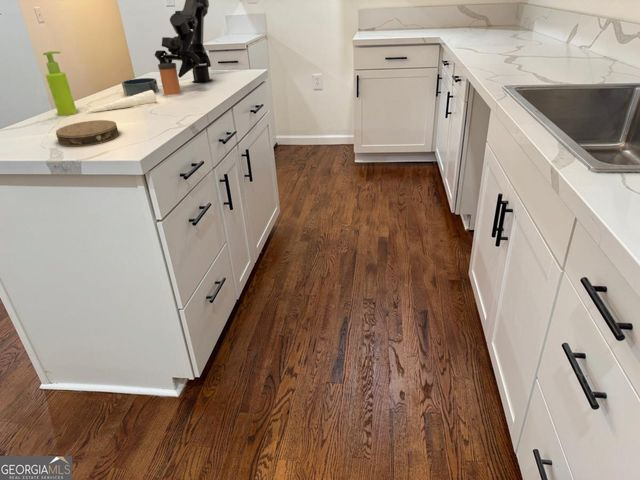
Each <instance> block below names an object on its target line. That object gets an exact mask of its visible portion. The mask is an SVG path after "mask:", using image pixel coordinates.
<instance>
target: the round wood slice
mask: <svg viewBox="0 0 640 480" xmlns="http://www.w3.org/2000/svg"><path fill="white" fill-rule="evenodd" d="M55 135H56V138H57V141H58V144H59V145H61V146H64V147H74V148H75V147H76V148H77V147H87V146H94V145H99V144H103V143H106V142H110V141H112V140H114V139H116V138H117V137H119V135H120V133H119V129H118V125H117V122H115V121H113V120H107V119H106V120H104V119H99V120H98V119H97V120H88V121H87V120H86V121H80V122H75V123H71V124H67V125H65V126H62V127H59V128H58V129H56V131H55Z"/></svg>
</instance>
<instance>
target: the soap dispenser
mask: <svg viewBox="0 0 640 480" xmlns="http://www.w3.org/2000/svg"><path fill="white" fill-rule="evenodd" d="M42 54H43V56H46V58H47V63H46V67H47V70H48V73H47V74H45V77H46V81H47V84H48V87H49V90H50V93H51V95H52V100H53V102H54V105H55V108H56V111H57V114H58V116H69V115H74V114H76V113H78V111H77V107H76V104H75V100H74V97H73V94H72V91H71V88H70V84H69V80H68V78H67V75H66V73H65V72H61V69H60V66H59V63H58V62H57V61H55V60H54V56H53V55H54V54H61V51H53V50H52V51H46V52H43V53H42Z"/></svg>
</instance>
